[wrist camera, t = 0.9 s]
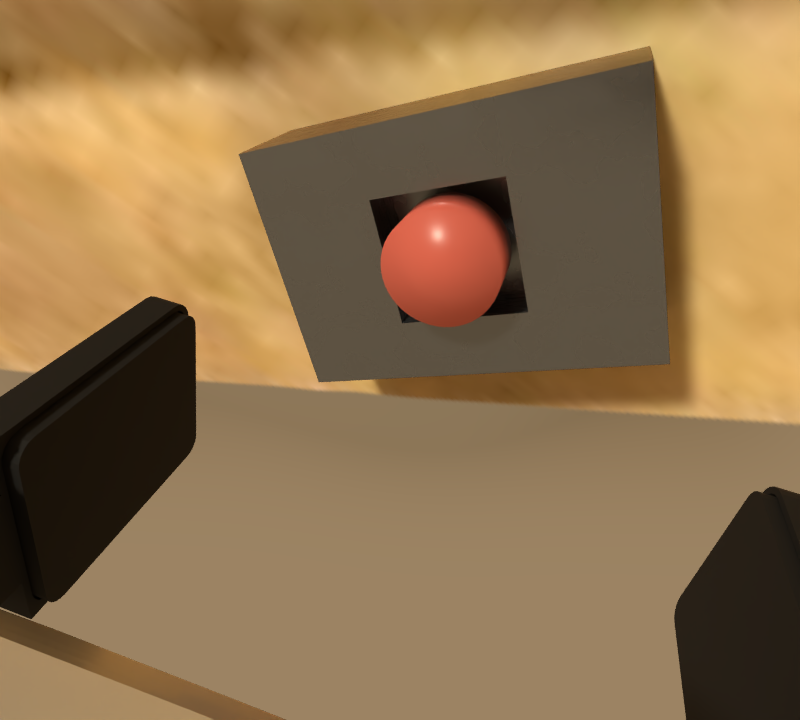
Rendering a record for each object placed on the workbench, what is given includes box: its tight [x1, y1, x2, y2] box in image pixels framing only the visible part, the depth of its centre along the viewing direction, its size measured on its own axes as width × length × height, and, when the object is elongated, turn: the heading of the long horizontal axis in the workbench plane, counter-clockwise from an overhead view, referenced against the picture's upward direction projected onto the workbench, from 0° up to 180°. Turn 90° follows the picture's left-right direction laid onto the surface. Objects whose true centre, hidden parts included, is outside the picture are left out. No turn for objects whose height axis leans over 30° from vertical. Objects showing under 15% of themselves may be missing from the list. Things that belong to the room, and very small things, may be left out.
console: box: [239, 46, 670, 382], centre depth 34 cm, size 20×14×6 cm
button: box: [381, 192, 512, 327], centre depth 31 cm, size 6×6×3 cm
